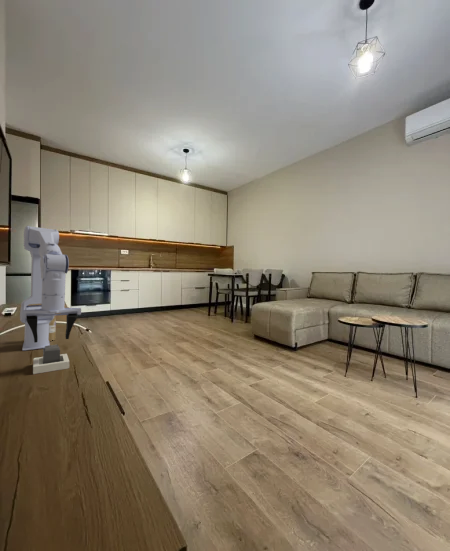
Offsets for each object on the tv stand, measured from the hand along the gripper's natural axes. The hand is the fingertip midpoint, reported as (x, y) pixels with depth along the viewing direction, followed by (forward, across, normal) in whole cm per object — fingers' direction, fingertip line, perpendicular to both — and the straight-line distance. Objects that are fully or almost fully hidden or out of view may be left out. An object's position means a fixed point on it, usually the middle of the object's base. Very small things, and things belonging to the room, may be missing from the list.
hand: (51, 340), depth 75 cm
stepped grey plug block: (+8, 0, 0) cm, 8 cm away
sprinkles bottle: (+8, 0, +33) cm, 34 cm away
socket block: (+8, 0, 0) cm, 8 cm away
